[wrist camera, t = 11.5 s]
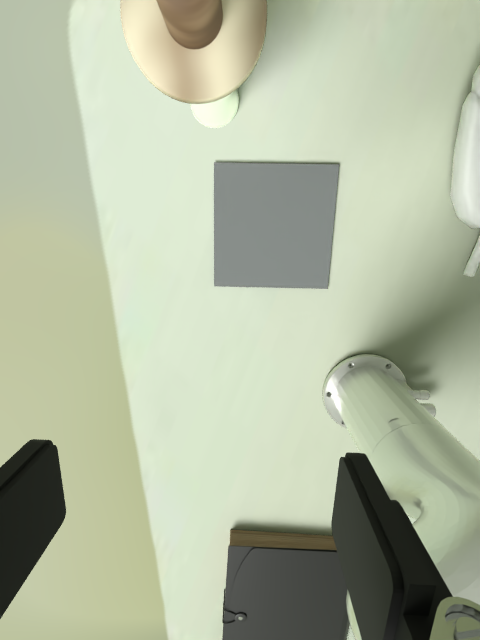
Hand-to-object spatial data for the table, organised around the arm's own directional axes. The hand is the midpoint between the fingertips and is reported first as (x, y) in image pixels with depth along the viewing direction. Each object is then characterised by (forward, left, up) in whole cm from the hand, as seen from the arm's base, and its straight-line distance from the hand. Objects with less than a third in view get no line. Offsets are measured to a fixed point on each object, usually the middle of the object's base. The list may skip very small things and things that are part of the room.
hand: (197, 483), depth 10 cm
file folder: (-11, +60, -37) cm, 71 cm away
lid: (+3, -24, -21) cm, 32 cm away
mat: (-5, -9, -36) cm, 37 cm away
